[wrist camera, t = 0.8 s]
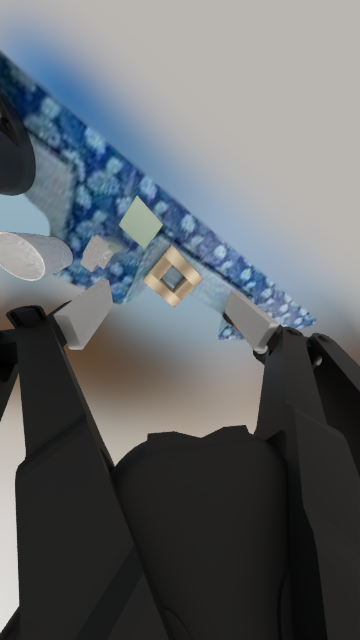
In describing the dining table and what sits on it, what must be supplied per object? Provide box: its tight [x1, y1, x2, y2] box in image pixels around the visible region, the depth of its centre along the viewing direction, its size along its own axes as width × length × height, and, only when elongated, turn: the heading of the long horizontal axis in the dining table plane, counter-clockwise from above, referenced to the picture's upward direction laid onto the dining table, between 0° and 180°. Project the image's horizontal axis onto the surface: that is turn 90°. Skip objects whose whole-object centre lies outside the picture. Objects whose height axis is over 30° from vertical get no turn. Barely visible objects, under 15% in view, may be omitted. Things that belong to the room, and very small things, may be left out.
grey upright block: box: [80, 234, 130, 272], centre depth 26 cm, size 4×6×14 cm, turn 136°
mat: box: [119, 196, 163, 250], centre depth 30 cm, size 7×7×1 cm
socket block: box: [143, 244, 203, 307], centre depth 35 cm, size 11×11×4 cm
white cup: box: [0, 232, 73, 281], centre depth 27 cm, size 8×8×10 cm
